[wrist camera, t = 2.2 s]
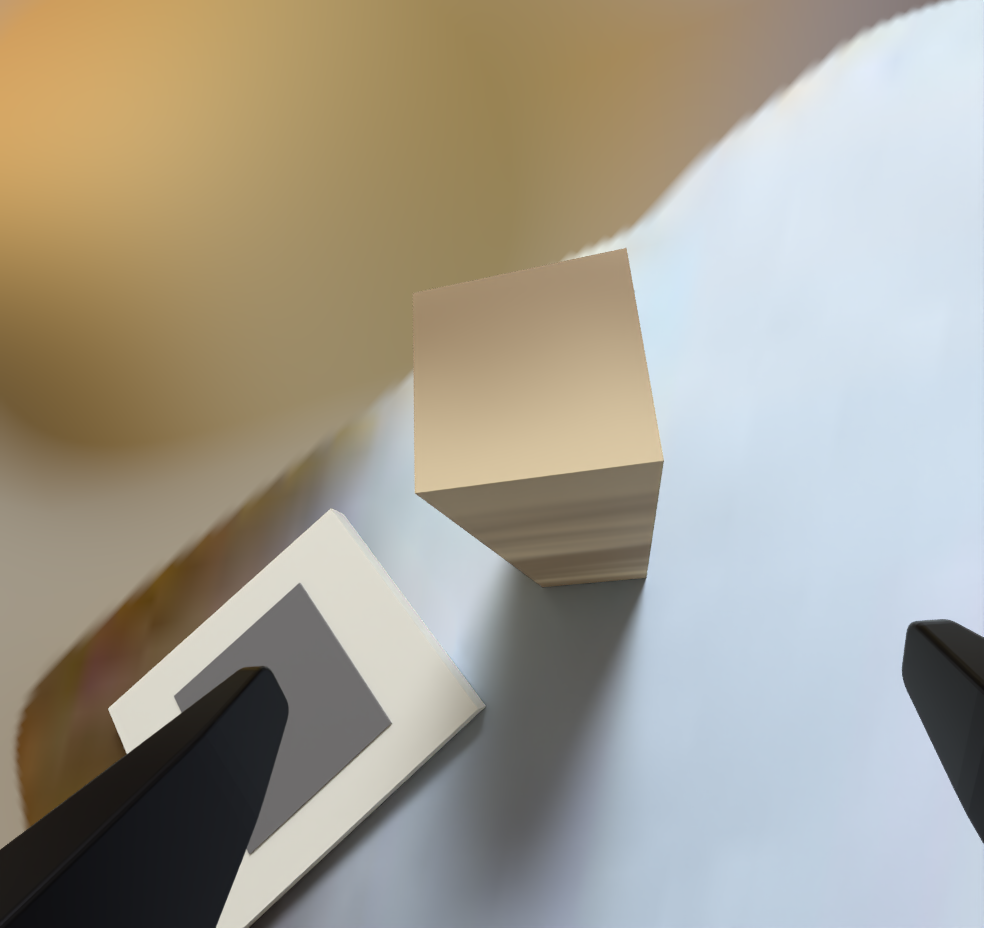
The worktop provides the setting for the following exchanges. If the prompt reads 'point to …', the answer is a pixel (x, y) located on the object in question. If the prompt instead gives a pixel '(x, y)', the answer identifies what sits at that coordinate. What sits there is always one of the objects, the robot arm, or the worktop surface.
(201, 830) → the robot arm
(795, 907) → the worktop surface
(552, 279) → the wooden block
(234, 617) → the mat
